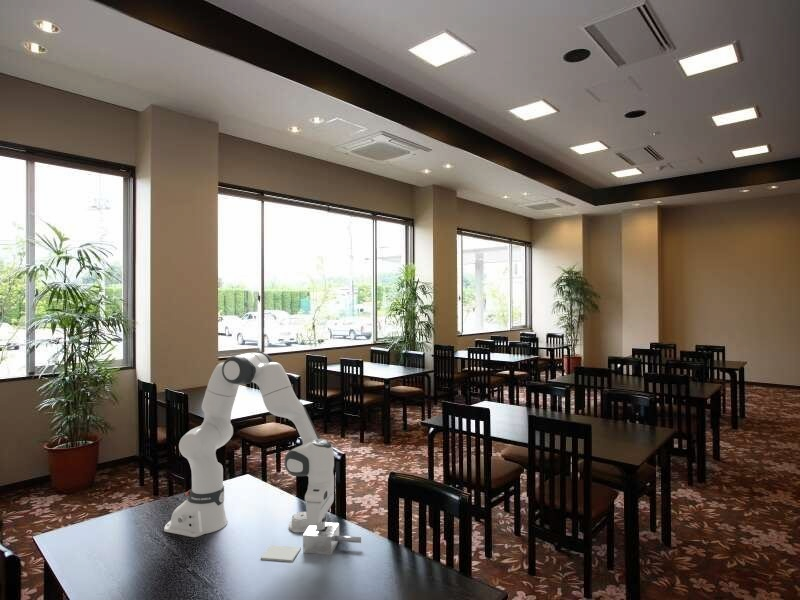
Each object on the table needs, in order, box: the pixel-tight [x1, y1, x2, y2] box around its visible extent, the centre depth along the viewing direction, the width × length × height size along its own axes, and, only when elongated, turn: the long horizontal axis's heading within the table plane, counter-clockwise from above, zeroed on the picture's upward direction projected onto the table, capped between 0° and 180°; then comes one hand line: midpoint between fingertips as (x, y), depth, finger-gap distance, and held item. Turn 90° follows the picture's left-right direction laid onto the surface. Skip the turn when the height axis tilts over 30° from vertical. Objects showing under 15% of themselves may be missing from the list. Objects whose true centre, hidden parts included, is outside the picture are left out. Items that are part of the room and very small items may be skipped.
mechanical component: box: [288, 511, 310, 533], centre depth 179 cm, size 10×4×10 cm
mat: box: [260, 544, 302, 563], centre depth 160 cm, size 11×8×1 cm
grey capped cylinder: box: [318, 515, 327, 532], centre depth 165 cm, size 3×3×9 cm
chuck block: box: [302, 521, 362, 555], centre depth 164 cm, size 19×10×6 cm, turn 82°
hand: (321, 526), depth 165 cm, fingers closed on grey capped cylinder, 2 cm apart
